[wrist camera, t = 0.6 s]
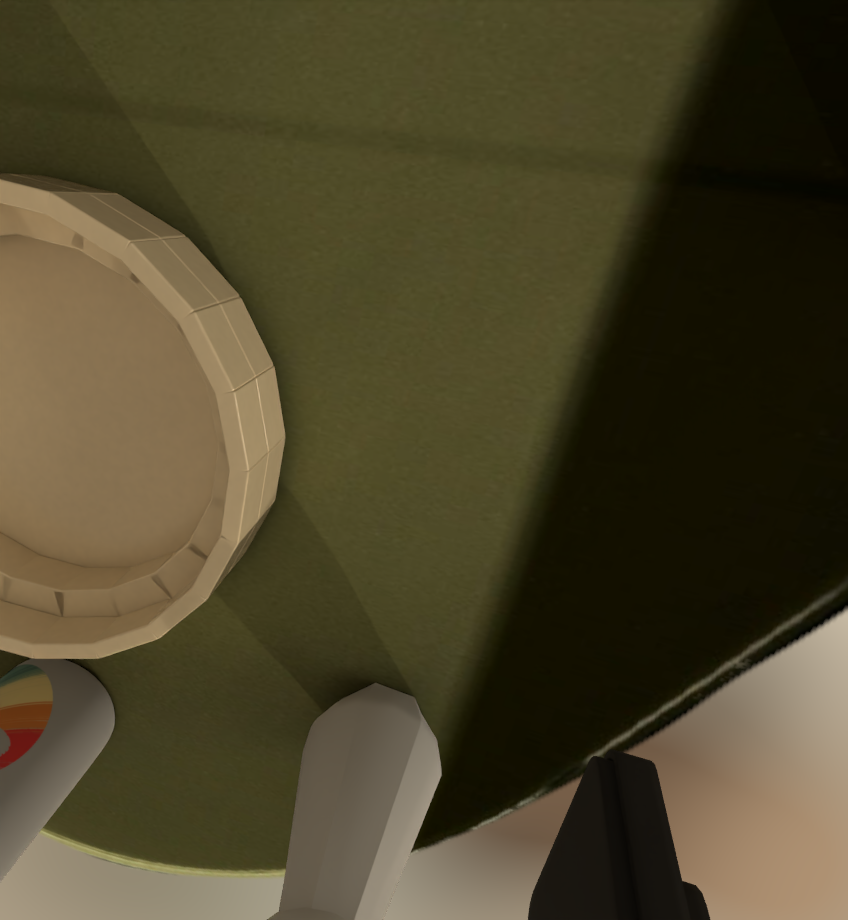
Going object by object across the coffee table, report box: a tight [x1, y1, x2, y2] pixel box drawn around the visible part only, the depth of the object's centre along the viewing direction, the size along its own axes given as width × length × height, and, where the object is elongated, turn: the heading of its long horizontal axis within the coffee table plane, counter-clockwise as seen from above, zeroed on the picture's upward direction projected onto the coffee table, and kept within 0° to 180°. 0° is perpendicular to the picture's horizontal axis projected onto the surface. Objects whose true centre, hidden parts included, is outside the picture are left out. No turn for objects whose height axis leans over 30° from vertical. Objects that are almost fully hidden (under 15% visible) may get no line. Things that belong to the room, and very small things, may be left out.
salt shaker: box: [267, 683, 441, 920], centre depth 26 cm, size 6×6×13 cm
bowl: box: [0, 173, 285, 659], centre depth 27 cm, size 17×17×4 cm
